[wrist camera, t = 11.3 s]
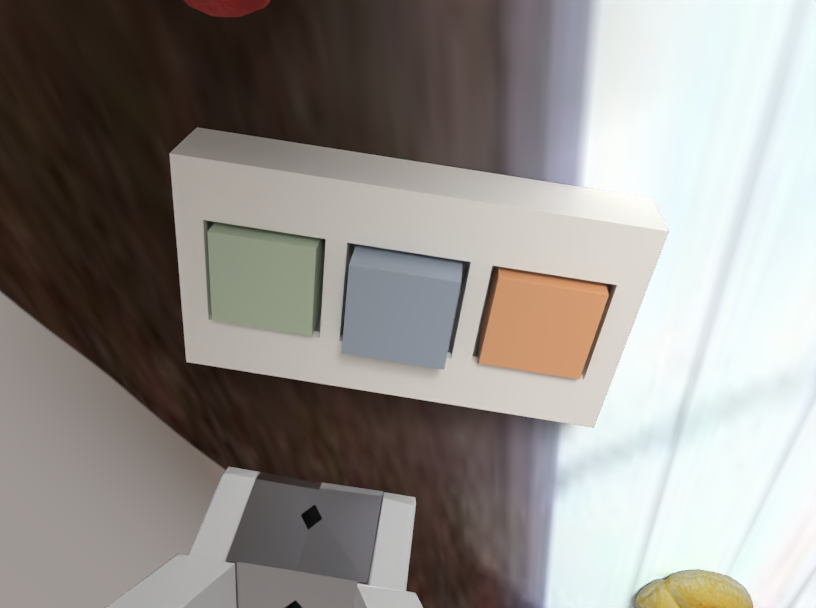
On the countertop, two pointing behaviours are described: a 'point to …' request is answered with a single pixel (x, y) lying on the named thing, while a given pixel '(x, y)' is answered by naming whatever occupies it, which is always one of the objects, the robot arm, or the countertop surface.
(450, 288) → the key slate
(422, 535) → the countertop surface
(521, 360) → the key terracotta
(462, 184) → the keypad
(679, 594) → the bread roll
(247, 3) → the onion
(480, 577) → the countertop surface
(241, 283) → the key sage
